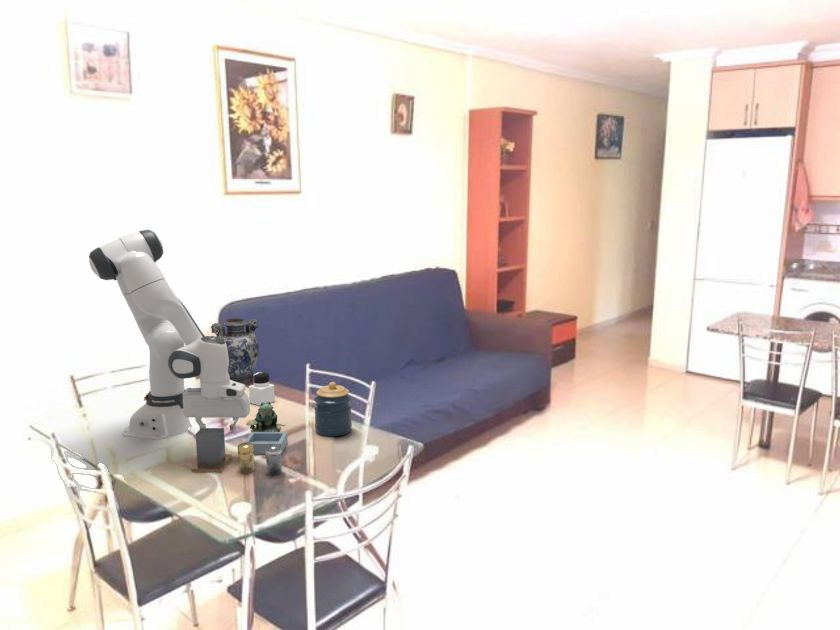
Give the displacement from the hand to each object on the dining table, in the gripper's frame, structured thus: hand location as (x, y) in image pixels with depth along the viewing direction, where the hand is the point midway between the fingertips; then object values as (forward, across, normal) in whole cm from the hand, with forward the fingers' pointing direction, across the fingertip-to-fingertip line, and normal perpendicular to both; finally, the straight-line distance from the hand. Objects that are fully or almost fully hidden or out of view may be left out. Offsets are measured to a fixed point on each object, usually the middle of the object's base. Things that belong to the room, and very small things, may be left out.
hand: (217, 430), depth 200 cm
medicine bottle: (+8, +1, +51) cm, 52 cm away
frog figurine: (+9, +10, +19) cm, 23 cm away
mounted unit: (+8, 0, -8) cm, 11 cm away
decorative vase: (+8, -16, +78) cm, 80 cm away
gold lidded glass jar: (+8, +12, -12) cm, 19 cm away
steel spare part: (+8, +20, -13) cm, 25 cm away
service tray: (+8, +14, +5) cm, 17 cm away
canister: (+8, +34, +21) cm, 41 cm away
